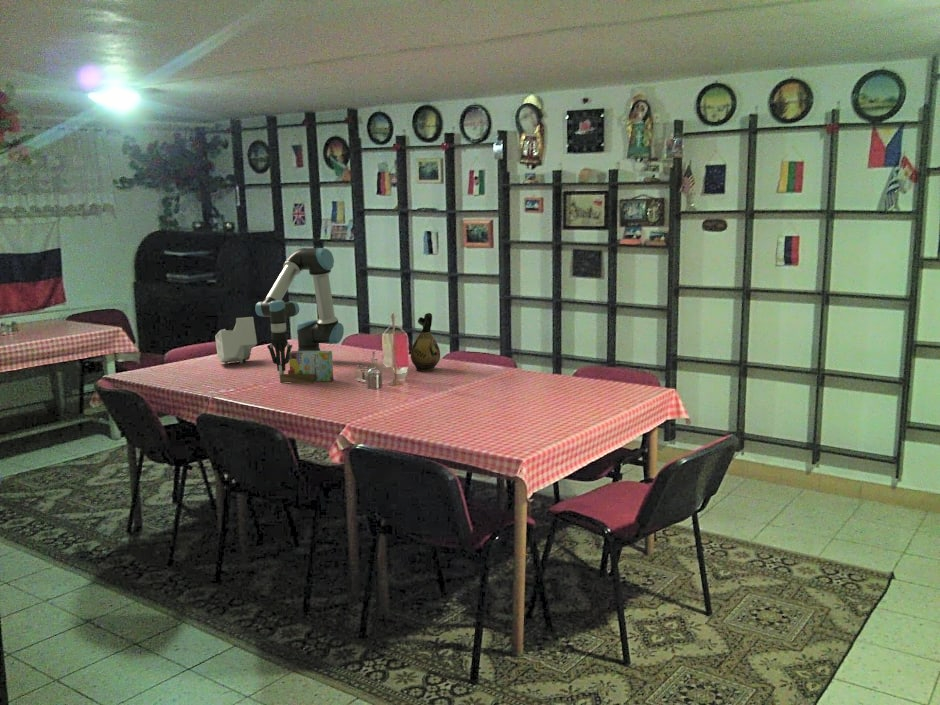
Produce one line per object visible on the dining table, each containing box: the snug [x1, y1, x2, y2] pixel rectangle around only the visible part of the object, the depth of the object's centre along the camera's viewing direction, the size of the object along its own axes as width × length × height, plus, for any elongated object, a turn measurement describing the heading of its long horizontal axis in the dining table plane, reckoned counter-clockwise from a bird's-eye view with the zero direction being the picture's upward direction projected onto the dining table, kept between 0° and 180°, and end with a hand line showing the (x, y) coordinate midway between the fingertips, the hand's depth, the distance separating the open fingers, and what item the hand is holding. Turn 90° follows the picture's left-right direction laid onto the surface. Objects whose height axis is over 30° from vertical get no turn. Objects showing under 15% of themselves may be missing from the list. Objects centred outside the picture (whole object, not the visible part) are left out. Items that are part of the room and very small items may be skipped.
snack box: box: [288, 350, 334, 382], centre depth 423 cm, size 21×6×15 cm, turn 81°
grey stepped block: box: [214, 316, 258, 365], centre depth 475 cm, size 20×16×25 cm
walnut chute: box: [279, 369, 317, 384], centre depth 426 cm, size 13×18×4 cm
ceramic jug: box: [410, 312, 441, 373], centre depth 441 cm, size 17×15×30 cm
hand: (281, 377), depth 427 cm, fingers closed
